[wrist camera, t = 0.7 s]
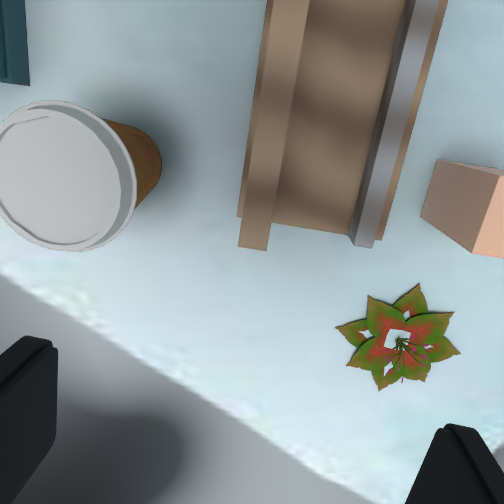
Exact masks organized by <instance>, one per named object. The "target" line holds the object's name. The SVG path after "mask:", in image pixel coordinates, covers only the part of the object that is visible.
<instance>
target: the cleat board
mask: <svg viewBox="0 0 504 504" xmlns="http://www.w3.org/2000/svg"><path fill="white" fill-rule="evenodd" d="M447 3H448V0H267V6H266V13H265V20H264V27H263V34H262V41H261V49H260V56H259V63H258V70H257V77H256V84H255V91H254V98H253V105H252V112H251V120H250V127H249V134H248V141H247V148H246V155H245V162H244V169H243V176H242V184H241V191H240V198H239V205H238V212H237V217H242V222H241V229H240V236H239V243H238V247H244V248H250V249H256V250H262V251H266V250H267V244H268V238H269V233H270V227H271V222H272V223H279V224H285V225H291V226H297V227H303V228H309V229H315V230H321V231H327V232H333V233H339V234H345V235H348V236H349V238H350V240H351V241H352V243H353V245H354V246H359V247H366V248H372V247H373V244H374V240H381V241H382V237H383V234H384V230H385V227H386V223H387V219H388V216H389V212H390V209H391V205H392V201H393V198H394V194H395V191H396V187H397V183H398V180H399V176H400V173H401V169H402V165H403V162H404V158H405V155H406V151H407V147H408V144H409V140H410V137H411V133H412V129H413V126H414V122H415V119H416V115H417V111H418V108H419V104H420V101H421V97H422V93H423V90H424V86H425V83H426V79H427V75H428V72H429V68H430V65H431V61H432V57H433V54H434V50H435V47H436V43H437V39H438V36H439V32H440V29H441V25H442V21H443V18H444V14H445V10H446V7H447Z"/></svg>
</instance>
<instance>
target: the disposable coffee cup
mask: <svg viewBox="0 0 504 504" xmlns="http://www.w3.org/2000/svg"><path fill="white" fill-rule="evenodd" d="M161 169H162V165H161V157H160V153H159V151H158V148H157V146H156V145H155V143H154V142H153V141H152V139H151V138H150V137H149V136H148V135H146V134H145V133H144V132H142V131H141V130H139V129H137V128H134V127H130V126H127V125H123V124H120V123H116V122H112V121H109V120H105V119H102V118H99V117H98V116H96V115H95V114H93V113H92V112H90V111H89V110H87V109H84V108H82V107H79V106H77V105H74V104H71V103H68V102H62V101H40V102H35V103H31V104H29V105H26V106H24V107H21V108H20V109H18V110H17V111H15V112H13V113H12V114H11V115H10V116H9V117H8V118H7V119H6V120H4V121H3V122H2V123H1V124H0V216H1V218H2V219H3V220H4V221H5V222H6V223H7V224H8V225H9V226H10V228H12V229H13V230H14V231H15V232H16V233H17V234H19V235H20V236H22V237H23V238H25V239H26V240H28V241H30V242H32V243H34V244H36V245H38V246H41V247H44V248H48V249H51V250H59V251H70V252H83V251H89V250H93V249H96V248H99V247H102V246H104V245H106V244H107V243H109V242H110V241H112V240H114V239H115V238H116V237H117V236H118V235H119V234H120V233H121V232H122V231H123V230H124V228H125V227H126V226H127V224H128V222H129V220H130V219H131V217H132V215H133V211H134V209H135V208H136V207H137V206H138V205H139V203H140V202H141V201H142V200H143V199H144V198H145V197H146V195H147V194H148V193H149V192H150V191H151V190H152V189H153V188H154V187H155V185H156V184H157V182H158V180H159V178H160V175H161Z"/></svg>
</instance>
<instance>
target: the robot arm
mask: <svg viewBox="0 0 504 504" xmlns="http://www.w3.org/2000/svg"><path fill="white" fill-rule="evenodd" d="M57 373H58V350H57V348H54V347H53V345H52V342H51V341H50V340H46V339H42V338H37V337H32V336H24V337H22V338H20V340H18V341H17V342H16V343H14V344H13V345H12V346H11V347H10V348H8V349H7V350H6V351H5V352H3V353H2V354H1V355H0V504H11V503H12V502H13V500H14V499H15V498H16V496H17V495H18V493H19V492H20V491H21V489H22V488H23V487H24V485H25V484H26V482H27V481H28V480H29V478H30V477H31V475H32V474H33V473H34V471H35V470H36V468H37V467H38V466H39V464H40V463H41V461H42V460H43V458H44V457H45V456H46V454H47V453H48V452H49V450H50V449H51V447H52V445H53V443H54V440H55V436H56V416H57V414H56V413H57V376H58V375H57ZM405 504H504V473H503V471H502V470H501V468H500V466H499V465H498V463H497V461H496V460H495V458H494V457H493V455H492V454H491V452H490V450H489V449H488V447H487V446H486V444H485V442H484V441H483V439H482V438H481V436H480V434H479V433H478V432H477V431H476V430H475V429H473V428H470V427H465V426H460V425H456V424H451V423H450V424H446V425H445V426H444V428H439V429H438V430H437V431H436V433H435V435H434V438H433V440H432V442H431V445H430V447H429V449H428V452H427V454H426V456H425V458H424V461H423V463H422V465H421V468H420V470H419V472H418V475H417V477H416V479H415V481H414V484H413V486H412V488H411V491H410V493H409V495H408V498H407V500H406V502H405Z"/></svg>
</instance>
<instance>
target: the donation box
mask: <svg viewBox="0 0 504 504" xmlns="http://www.w3.org/2000/svg"><path fill="white" fill-rule="evenodd" d="M0 82H3V83H11V84H18V85H26V86H30V80H29V64H28V47H27V33H26V17H25V0H0Z"/></svg>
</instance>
